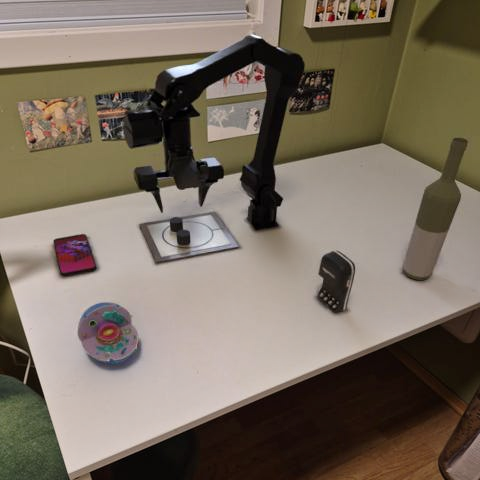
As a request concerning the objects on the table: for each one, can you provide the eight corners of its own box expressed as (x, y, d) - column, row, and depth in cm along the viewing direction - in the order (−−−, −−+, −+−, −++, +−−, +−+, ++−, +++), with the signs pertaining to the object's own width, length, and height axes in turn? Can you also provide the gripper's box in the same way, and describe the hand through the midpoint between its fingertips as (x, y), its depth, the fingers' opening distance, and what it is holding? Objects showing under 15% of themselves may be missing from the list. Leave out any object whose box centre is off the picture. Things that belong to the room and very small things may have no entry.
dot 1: (181, 225, 118) (180, 216, 116) (184, 231, 116) (184, 222, 114) (168, 227, 117) (168, 218, 115) (172, 233, 115) (171, 224, 113)
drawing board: (214, 213, 124) (214, 210, 124) (238, 247, 112) (239, 245, 111) (139, 225, 118) (139, 223, 118) (156, 263, 106) (156, 261, 105)
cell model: (98, 384, 79) (87, 343, 72) (76, 341, 86) (64, 301, 80) (152, 362, 83) (147, 322, 76) (127, 323, 90) (120, 284, 84)
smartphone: (60, 274, 100) (52, 238, 111) (61, 277, 101) (53, 242, 111) (96, 267, 103) (85, 233, 113) (97, 270, 103) (86, 236, 113)
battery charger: (311, 297, 98) (319, 251, 90) (326, 292, 99) (334, 246, 92) (332, 316, 94) (342, 269, 86) (347, 310, 95) (358, 264, 87)
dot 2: (188, 237, 113) (187, 228, 112) (192, 244, 111) (191, 235, 110) (175, 239, 112) (174, 230, 111) (179, 246, 110) (178, 237, 109)
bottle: (438, 276, 105) (489, 143, 85) (417, 286, 102) (464, 150, 82) (414, 261, 109) (457, 130, 89) (393, 270, 106) (432, 137, 86)
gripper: (140, 160, 88) (149, 233, 98) (233, 149, 93) (232, 219, 103) (128, 139, 95) (137, 209, 106) (215, 130, 101) (215, 197, 111)
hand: (181, 209), depth 106 cm, fingers open, 9 cm apart
